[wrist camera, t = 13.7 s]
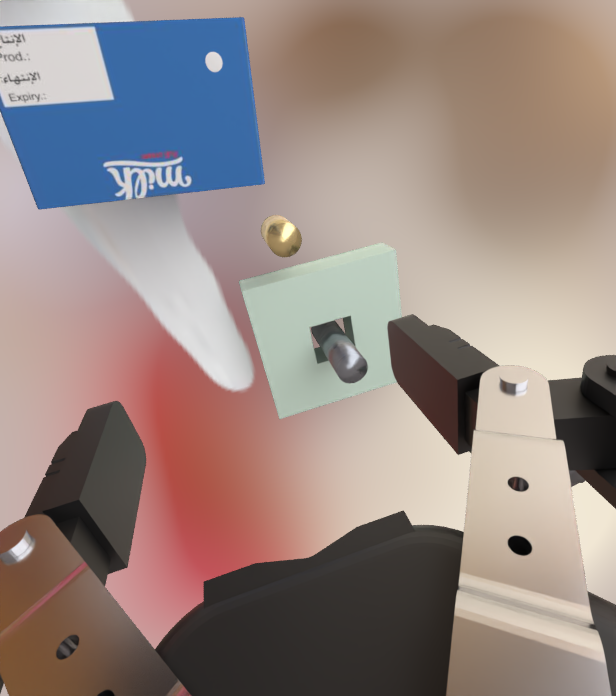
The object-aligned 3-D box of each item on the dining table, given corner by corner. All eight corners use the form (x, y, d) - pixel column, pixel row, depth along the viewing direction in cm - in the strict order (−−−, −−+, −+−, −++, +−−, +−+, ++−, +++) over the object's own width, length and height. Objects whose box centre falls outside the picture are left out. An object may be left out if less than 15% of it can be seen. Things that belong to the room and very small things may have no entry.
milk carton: (120, 179, 34) (36, 209, 17) (96, 95, 31) (-35, 27, 14) (234, 167, 36) (265, 184, 19) (222, 87, 33) (244, 17, 16)
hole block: (238, 280, 41) (241, 291, 38) (382, 242, 42) (395, 249, 39) (274, 402, 48) (279, 419, 45) (394, 365, 50) (407, 379, 47)
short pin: (257, 219, 38) (264, 227, 34) (286, 211, 39) (297, 219, 34) (265, 248, 40) (273, 260, 35) (293, 241, 40) (304, 252, 36)
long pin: (309, 319, 44) (335, 360, 36) (334, 312, 45) (365, 351, 36) (314, 342, 46) (340, 387, 37) (338, 335, 46) (369, 378, 38)
